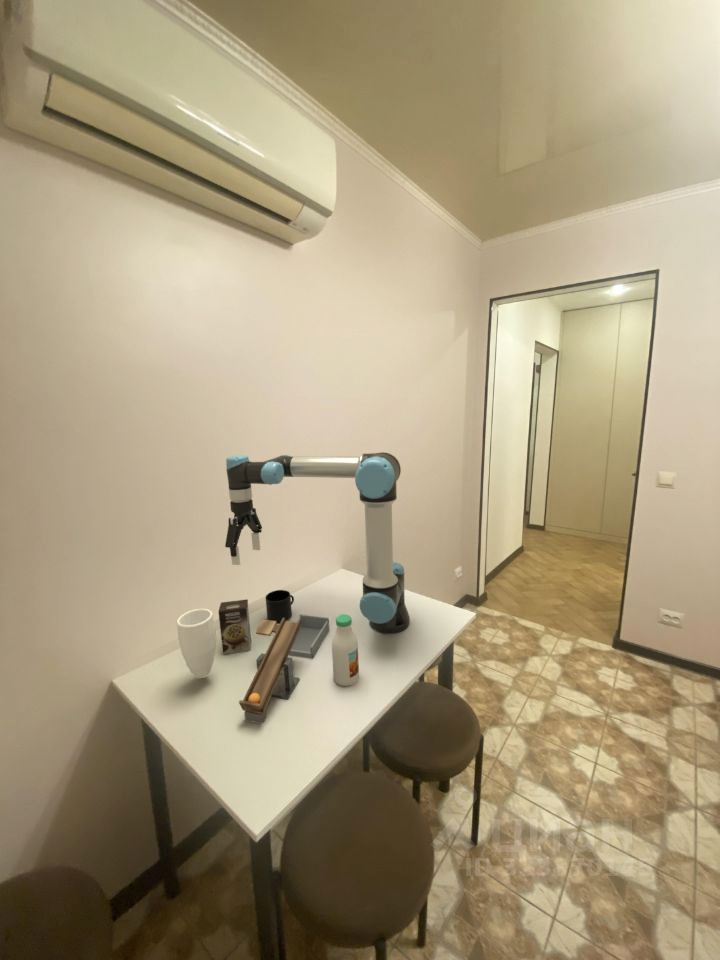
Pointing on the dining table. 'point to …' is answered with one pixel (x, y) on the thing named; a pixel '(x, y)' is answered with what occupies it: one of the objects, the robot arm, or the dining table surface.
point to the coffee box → (235, 626)
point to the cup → (197, 640)
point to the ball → (254, 698)
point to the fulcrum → (283, 679)
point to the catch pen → (310, 635)
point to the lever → (271, 662)
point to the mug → (279, 605)
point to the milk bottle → (345, 652)
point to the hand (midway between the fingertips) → (246, 556)
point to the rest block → (255, 717)
